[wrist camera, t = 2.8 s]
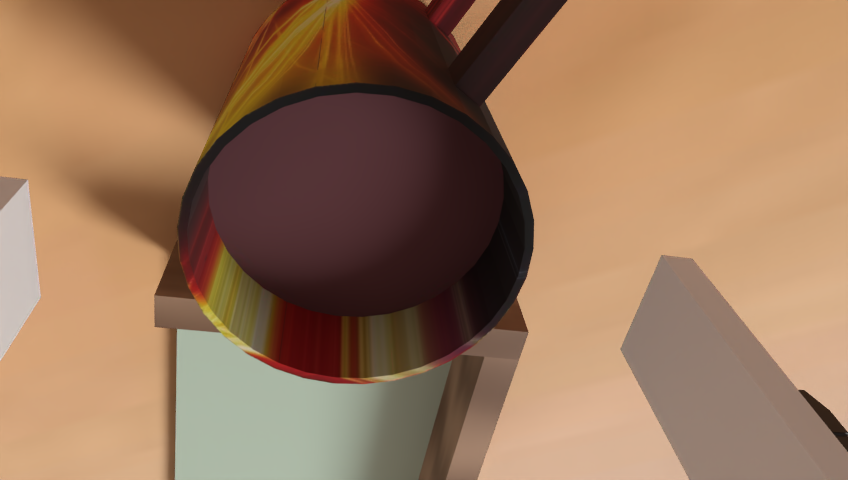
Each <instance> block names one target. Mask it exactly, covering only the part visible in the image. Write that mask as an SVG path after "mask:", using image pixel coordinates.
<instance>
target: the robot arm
mask: <svg viewBox="0 0 848 480" xmlns="http://www.w3.org/2000/svg"><path fill="white" fill-rule="evenodd" d="M40 298H41V295H40V286H39V277H38V268H37V259H36V249H35V240H34V231H33V222H32V213H31V204H30V195H29V185H28V180H26V179H17V178H9V177H0V361H1V359H2V358H3V356H4V354H5V353H6V351H7V350H8V348H9V347H10V345H11V343H12V342H13V340H14V339H15V337H16V336H17V334H18V332H19V331H20V329H21V328H22V326H23V325H24V323H25V321H26V320H27V318H28V317H29V315H30V313H31V312H32V310H33V309H34V307H35V306H36V304H37V302H38V301H39V299H40ZM621 351H622V353H623V355H624V357H625V359H626V361H627V363H628V364H629V366H630V368H631V370H632V372H633V374H634V376H635V378H636V380H637V381H638V383H639V385H640V387H641V389H642V391H643V393H644V395H645V397H646V398H647V400H648V402H649V404H650V406H651V408H652V410H653V412H654V414H655V415H656V417H657V419H658V421H659V423H660V425H661V427H662V429H663V431H664V432H665V434H666V436H667V438H668V440H669V442H670V444H671V446H672V448H673V449H674V451H675V453H676V455H677V457H678V459H679V461H680V463H681V465H682V466H683V468H684V470H685V472H686V474H687V476H688V478H689V480H848V432H847V431H846V430H845V428H844V427H843V426H842V425H841V424H840V422H839V421H838V420H837V419H836V417H835V416H834V415H833V414H832V413H831V411H830V410H828V409H827V408H826V407H825V406H823V405H822V404H821V403H820V402H818V401H817V400H816V399H815V398H813V397H812V396H811V395H810V394H808V393H807V392H806V391H805V390H798V389H797V388H796V387H795V386H794V384H793V383H792V382H791V381H790V379H789V378H788V377H787V376H786V374H785V373H784V372H783V371H782V370H781V368H780V367H779V366H778V365H777V363H776V362H775V361H774V360H773V358H772V357H771V356H770V355H769V353H768V352H767V351H766V350H765V348H764V347H763V346H762V345H761V343H760V342H759V341H758V340H757V338H756V337H755V336H754V335H753V333H752V332H751V331H750V330H749V329H748V327H747V326H746V325H745V324H744V322H743V321H742V320H741V319H740V317H739V316H738V315H737V314H736V312H735V311H734V310H733V309H732V307H731V306H730V305H729V304H728V302H727V301H726V300H725V299H724V297H723V296H722V295H721V294H720V292H719V291H718V290H717V289H716V287H715V286H714V285H713V284H712V283H711V281H710V280H709V279H708V278H707V276H706V275H705V274H704V273H703V271H702V270H701V269H700V268H699V266H698V265H697V264H696V263H695V261H694V260H693V259H690V258H682V257H673V256H665V255H662V256H661V258H660V260H659V262H658V265H657V267H656V269H655V271H654V274H653V276H652V278H651V281H650V283H649V285H648V287H647V290H646V292H645V294H644V297H643V299H642V301H641V303H640V306H639V308H638V310H637V312H636V315H635V317H634V319H633V322H632V324H631V326H630V328H629V331H628V333H627V335H626V338H625V340H624V342H623V344H622V347H621Z"/></svg>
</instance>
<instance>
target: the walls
mask: <svg viewBox="0 0 848 480" xmlns="http://www.w3.org/2000/svg"><path fill="white" fill-rule="evenodd" d="M154 298H155V327H161V328H172V329H183V330H195V331H206V332H217V333H220V331H219V330H218V329H217V328H216V327H215V326H214V325H213V324H212V322H211V321H210V320H209V319H208V318H207V317H206V316H205V315H204V314H203V312H202V310H201V308H200V307H199V305H198V303H197V302H196V300H195V298H194V296H193V295H192V293H191V291H190V290H189V288H188V285H187V282H186V279H185V275H184V272H183V269H182V266H181V263H180V260H179V248H178V240H177V242H176V244H175V247H174V249H173V252H172V254H171V257H170V259H169V261H168V264H167V266H166V269H165V271H164V274H163V276H162V278H161V281H160V283H159V286H158V288H157V290H156V293H155V295H154ZM527 335H528V329H527V327H526V324H525V321H524V318H523V315H522V312H521V309H520V306H519V304H518V301H517V298H516V300H515V302H514V303H513V305H512V306H511V307H510V309H509V310H508V311H507V313H506V314H505V315H504V317H503V318H502V319H501V321H500V322H499V323H498V324H497V326H496V327H494V328H493V329H492V330H491V331H490V332H489V333H488V334H487V335H486V336H485V337H484V338H482V339H481V340H480V341H479V342H478V343H477V344H476V345H475V346H473V347H471V348H470V349H468V350H467V351H465V352H464V353H462V354H461V355H459V356H457V357H456V358H454V359H453V360H452V363H451V366H450V370H449V373H448V377H447V380H446V384H445V387H444V391H443V394H442V398H441V401H440V405H439V408H438V412H437V415H436V419H435V422H434V426H433V429H432V433H431V437H430V440H429V444H428V447H427V451H426V454H425V458H424V461H423V465H422V468H421V472H420V475H419V479H418V480H477V478H478V476H479V473H480V470H481V467H482V464H483V461H484V458H485V455H486V453H487V450H488V447H489V444H490V441H491V438H492V435H493V433H494V430H495V427H496V424H497V421H498V418H499V415H500V412H501V410H502V407H503V404H504V401H505V398H506V395H507V392H508V390H509V387H510V384H511V381H512V378H513V375H514V372H515V369H516V367H517V364H518V361H519V358H520V355H521V352H522V349H523V347H524V344H525V341H526V338H527Z"/></svg>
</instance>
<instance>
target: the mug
mask: <svg viewBox="0 0 848 480" xmlns="http://www.w3.org/2000/svg"><path fill="white" fill-rule="evenodd" d="M566 1H567V0H501V1H500V2H499V3H498V4H497V6H496V7H495V8H494V10H493V11H492V12H491V13H490V15H489V16H488V17H487V19H486V20H485V21H484V22H483V24H482V25H481V26H480V28H479V29H478V30H477V31H476V33H475V34H474V35H473V37H472V38H471V39H470V40H469V42H468V43H467V44H466V46H465V47H464V48H463V49H462V51H460V48H459V46H458V44H457V42H456V40H455V38H454V36H453V35H452V34H451V32H452V31H453V29H454V28H455V27H456V25H457V24H458V23H459V21H460V20H461V19H462V17H463V16H464V15H465V13H466V12H467V11H468V9H469V8H470V7H471V6H472V4H473V3H474V2H475V0H432V1H431V3H430V4H429V5H428V7H426V6H425V5H424V4H423V3H422V2H420V1H418V0H288V1H286V2H284V3H283V4H282V5H281V6H280V7H279V8H278V9H277V10H275V11H274V12H273V13H272V14H271V15H270V16H269V17H268V18H267V19H266V20H265V22H264V23H263V24H262V26H261V27H260V29H259V30H258V31H257V33H256V34H255V35H254V37H253V39H252V42H251V44H250V46H249V48H248V51H247V53H246V55H245V57H244V60H243V62H242V64H241V66H240V69H239V71H238V73H237V75H236V78H235V80H234V82H233V84H232V86H231V89H230V91H229V93H228V95H227V98H226V100H225V102H224V104H223V107H222V109H221V111H220V113H219V116H218V118H217V120H216V122H215V125H214V127H213V129H212V131H211V134H210V136H209V138H208V140H207V143H206V145H205V147H204V149H203V152H202V154H201V156H200V158H199V161H198V163H197V165H196V167H195V170H194V172H193V174H192V176H191V179H190V181H189V183H188V186H187V188H186V190H185V193H184V195H183V197H182V202H181V208H180V214H179V220H178V226H177V235H178V248H179V260H180V263H181V266H182V269H183V272H184V275H185V279H186V282H187V285H188V288H189V290H190V291H191V293H192V295H193V296H194V298H195V300H196V302H197V303H198V305H199V307H200V308H201V310H202V312H203V314H204V315H205V316H206V317H207V318H208V319H209V320H210V321H211V322H212V324H213V325H214V326H215V327H216V328H217V329H218V330H219V331H220V333H221V334H222V335H223V336H224V337H226V338H227V339H228V340H230V341H231V342H232V343H233V344H235V345H236V346H237V347H239V348H240V349H241V350H243V351H244V352H245V353H246V354H248V355H250V356H252V357H254V358H255V359H257V360H259V361H261V362H263V363H265V364H267V365H269V366H271V367H273V368H275V369H278V370H281V371H284V372H286V373H289V374H292V375H295V376H298V377H301V378H305V379H311V380H317V381H322V382H328V383H335V384H371V383H379V382H388V381H395V380H399V379H402V378H406V377H410V376H414V375H417V374H421V373H424V372H426V371H429V370H431V369H433V368H436V367H438V366H440V365H442V364H445V363H447V362H449V361H451V360H453V359H454V358H456V357H457V356H459V355H461V354H462V353H464V352H465V351H467V350H468V349H470V348H471V347H473V346H475V345H476V344H477V343H478V342H479V341H480V340H481V339H482V338H484V337H485V336H486V335H487V334H488V333H489V332H490V331H491V330H492V329H493V328H494V327H496V326H497V324H498V323H499V322H500V321H501V319H502V318H503V317H504V315H505V314H506V313H507V311H508V310H509V309H510V307H511V306H512V305H513V303H514V302H515V300H516V298H517V296H518V294H519V291H520V289H521V287H522V285H523V283H524V281H525V279H526V277H527V273H528V269H529V265H530V261H531V257H532V253H533V242H534V218H533V214H532V209H531V205H530V200H529V195H528V191H527V189H526V187H525V184H524V182H523V180H522V178H521V176H520V174H519V172H518V170H517V168H516V166H515V163H514V161H513V159H512V157H511V155H510V153H509V151H508V149H507V147H506V145H505V143H504V140H503V138H502V136H501V134H500V132H499V130H498V128H497V126H496V124H495V122H494V120H493V117H492V115H491V113H490V111H489V109H488V107H487V105H486V103H485V100H486V99H487V98H488V96H489V95H490V94H491V93H492V91H493V90H494V89H495V88H496V87H497V85H498V84H499V83H500V82H501V81H502V79H503V78H504V77H505V76H506V74H507V73H508V72H509V71H510V70H511V68H512V67H513V66H514V65H515V63H516V62H517V61H518V60H519V59H520V57H521V56H522V55H523V54H524V53H525V51H526V50H527V49H528V48H529V46H530V45H531V44H532V43H533V42H534V40H535V39H536V38H537V37H538V35H539V34H540V33H541V32H542V31H543V29H544V28H545V27H546V26H547V25H548V23H549V22H550V21H551V20H552V18H553V17H554V16H555V15H556V14H557V12H558V11H559V10H560V9H561V7H562V6H563V5H564V4H565V3H566Z"/></svg>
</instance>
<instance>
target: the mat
mask: <svg viewBox="0 0 848 480" xmlns="http://www.w3.org/2000/svg"><path fill="white" fill-rule="evenodd" d="M451 363H452V360H451V361H449V362H447V363H445V364H442V365H440V366H438V367H436V368H433V369H431V370H429V371H426V372H424V373H421V374H417V375H414V376H410V377H406V378H402V379H399V380H395V381H388V382H379V383H371V384H335V383H328V382H322V381H317V380H311V379H305V378H301V377H298V376H295V375H292V374H289V373H286V372H284V371H281V370H278V369H275V368H273V367H271V366H269V365H267V364H265V363H263V362H261V361H259V360H257V359H255V358H254V357H252V356H250V355H248V354H246V353H245V352H244V351H243V350H241V349H240V348H239V347H237V346H236V345H235V344H233V343H232V342H231V341H230V340H228V339H227V338H226V337H224V336H223V335H222V334H221V333H217V332H206V331H195V330H183V329H177V369H176V439H175V480H418V479H419V475H420V472H421V468H422V465H423V461H424V458H425V454H426V451H427V447H428V444H429V440H430V437H431V433H432V429H433V426H434V422H435V419H436V415H437V412H438V408H439V405H440V401H441V398H442V394H443V391H444V387H445V384H446V380H447V377H448V373H449V370H450V366H451Z"/></svg>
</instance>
